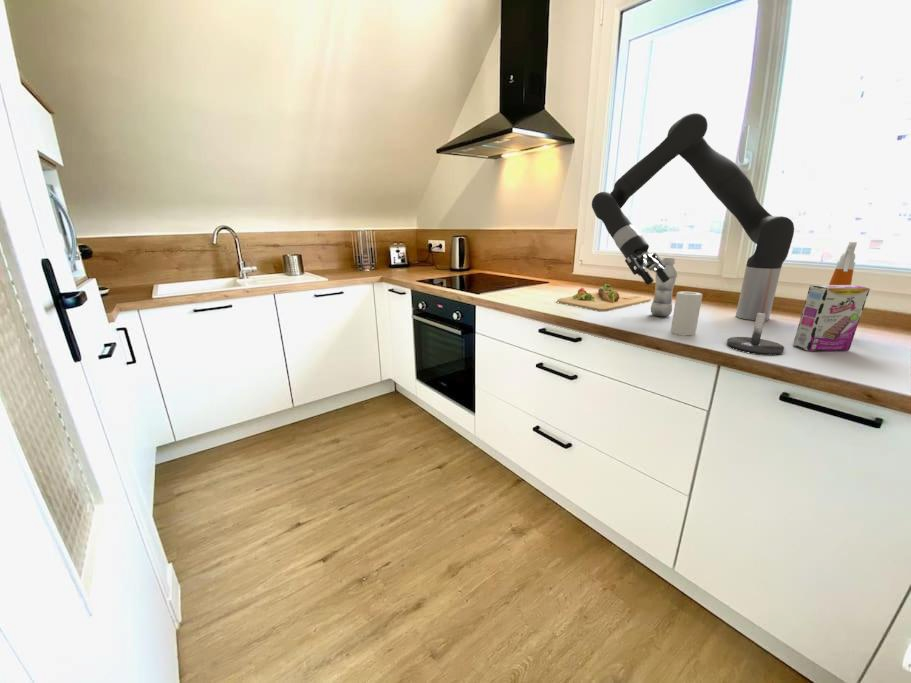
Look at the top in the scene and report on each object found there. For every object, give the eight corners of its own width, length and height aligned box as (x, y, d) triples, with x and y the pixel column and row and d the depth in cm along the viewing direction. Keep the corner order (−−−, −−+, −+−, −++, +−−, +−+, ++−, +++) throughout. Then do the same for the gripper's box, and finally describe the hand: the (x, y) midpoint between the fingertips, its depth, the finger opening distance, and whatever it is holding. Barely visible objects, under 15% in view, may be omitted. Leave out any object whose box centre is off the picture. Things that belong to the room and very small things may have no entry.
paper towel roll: (678, 329, 119) (684, 290, 115) (698, 333, 114) (705, 293, 110) (667, 332, 116) (673, 292, 112) (687, 336, 111) (694, 295, 107)
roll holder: (738, 338, 109) (745, 306, 106) (791, 349, 99) (800, 315, 96) (717, 345, 103) (724, 312, 100) (771, 358, 93) (780, 321, 90)
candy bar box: (808, 352, 97) (827, 288, 92) (791, 346, 102) (808, 284, 97) (851, 351, 97) (871, 287, 93) (832, 345, 102) (850, 284, 97)
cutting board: (602, 313, 143) (604, 293, 140) (554, 303, 161) (555, 285, 159) (653, 302, 162) (655, 284, 159) (604, 294, 180) (606, 278, 178)
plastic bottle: (673, 318, 132) (683, 259, 126) (652, 317, 133) (661, 259, 127) (667, 314, 138) (676, 257, 132) (647, 313, 139) (655, 257, 133)
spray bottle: (809, 336, 110) (835, 242, 102) (810, 328, 118) (834, 240, 110) (843, 341, 106) (873, 242, 98) (842, 333, 113) (869, 241, 105)
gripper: (624, 234, 118) (654, 276, 112) (652, 233, 125) (681, 272, 119) (608, 251, 124) (636, 291, 118) (635, 249, 131) (662, 287, 125)
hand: (658, 282), depth 119 cm, fingers open, 8 cm apart
